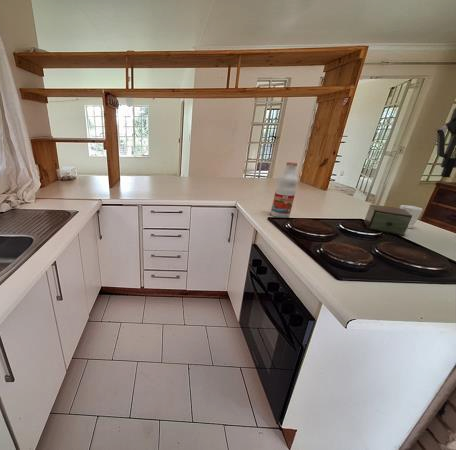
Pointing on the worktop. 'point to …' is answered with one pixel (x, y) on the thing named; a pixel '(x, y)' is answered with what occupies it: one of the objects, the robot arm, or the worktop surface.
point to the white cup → (412, 213)
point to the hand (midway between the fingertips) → (445, 176)
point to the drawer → (389, 222)
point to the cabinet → (387, 210)
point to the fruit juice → (285, 192)
